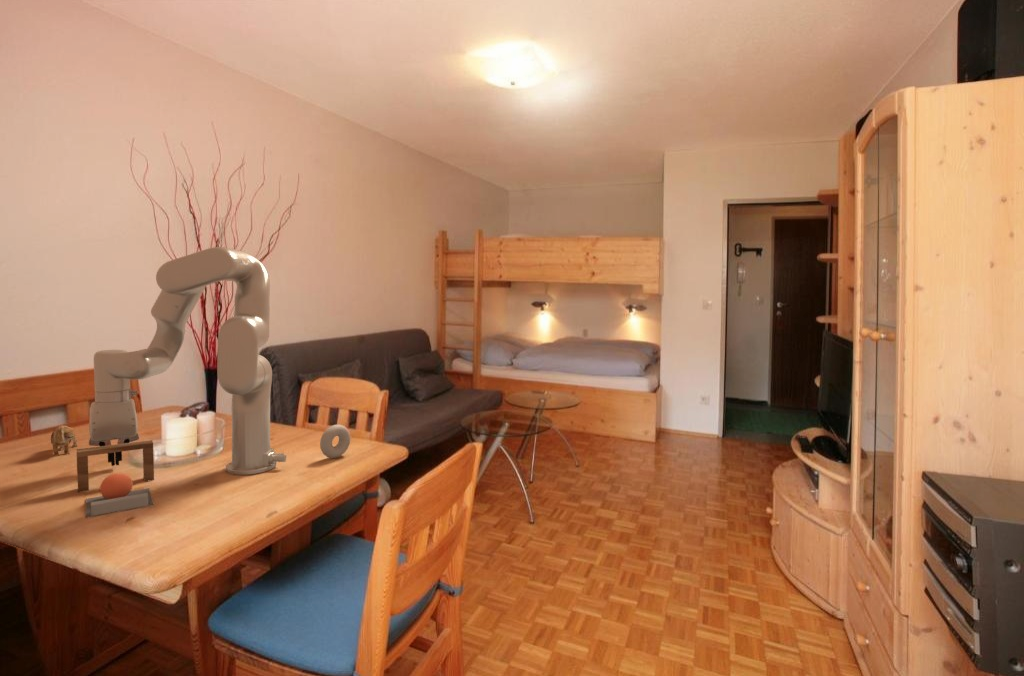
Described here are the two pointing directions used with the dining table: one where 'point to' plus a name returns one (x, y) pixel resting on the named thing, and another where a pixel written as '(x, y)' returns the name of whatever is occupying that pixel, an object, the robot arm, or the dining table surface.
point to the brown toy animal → (63, 439)
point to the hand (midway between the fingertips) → (115, 464)
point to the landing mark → (95, 499)
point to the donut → (328, 438)
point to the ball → (116, 486)
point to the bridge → (85, 452)
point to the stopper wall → (119, 504)
